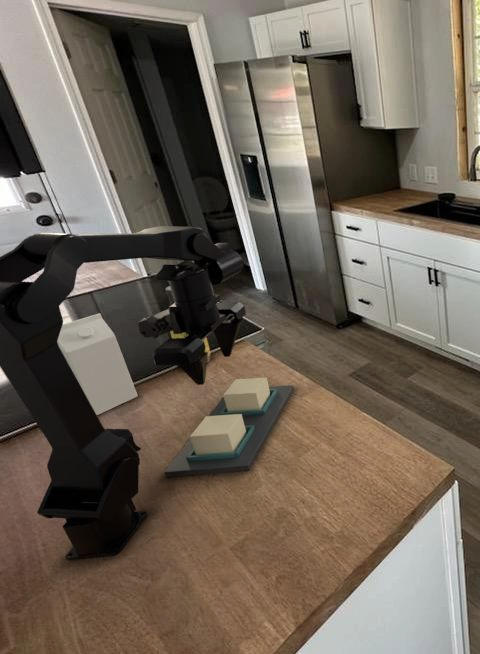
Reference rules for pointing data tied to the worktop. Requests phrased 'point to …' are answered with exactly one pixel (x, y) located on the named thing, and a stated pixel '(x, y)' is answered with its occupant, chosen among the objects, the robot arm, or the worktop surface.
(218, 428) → the pad
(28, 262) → the robot arm
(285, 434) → the worktop surface
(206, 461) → the back board
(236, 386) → the pad
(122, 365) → the milk carton
